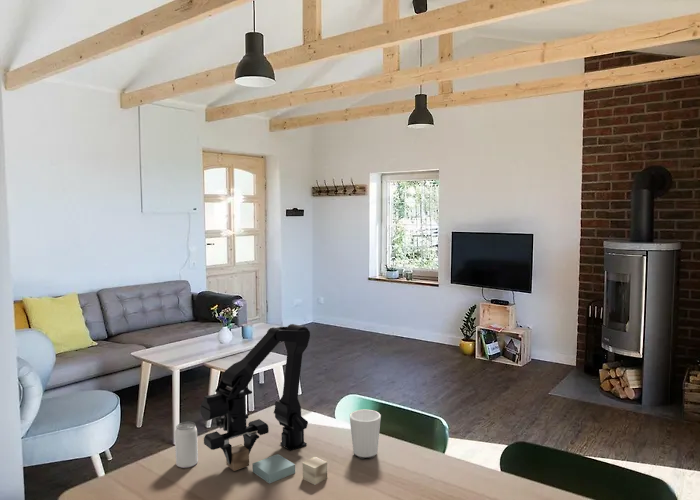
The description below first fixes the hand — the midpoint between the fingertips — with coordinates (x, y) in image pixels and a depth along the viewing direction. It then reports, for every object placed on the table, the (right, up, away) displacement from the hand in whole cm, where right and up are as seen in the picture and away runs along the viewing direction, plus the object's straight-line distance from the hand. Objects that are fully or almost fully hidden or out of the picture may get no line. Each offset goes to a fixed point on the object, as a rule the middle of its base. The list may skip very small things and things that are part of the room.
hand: (237, 461), depth 162 cm
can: (-16, -2, +3) cm, 16 cm away
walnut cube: (0, -1, 0) cm, 1 cm away
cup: (+39, -1, +8) cm, 39 cm away
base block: (+11, -3, -3) cm, 12 cm away
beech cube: (+24, -2, -7) cm, 25 cm away
